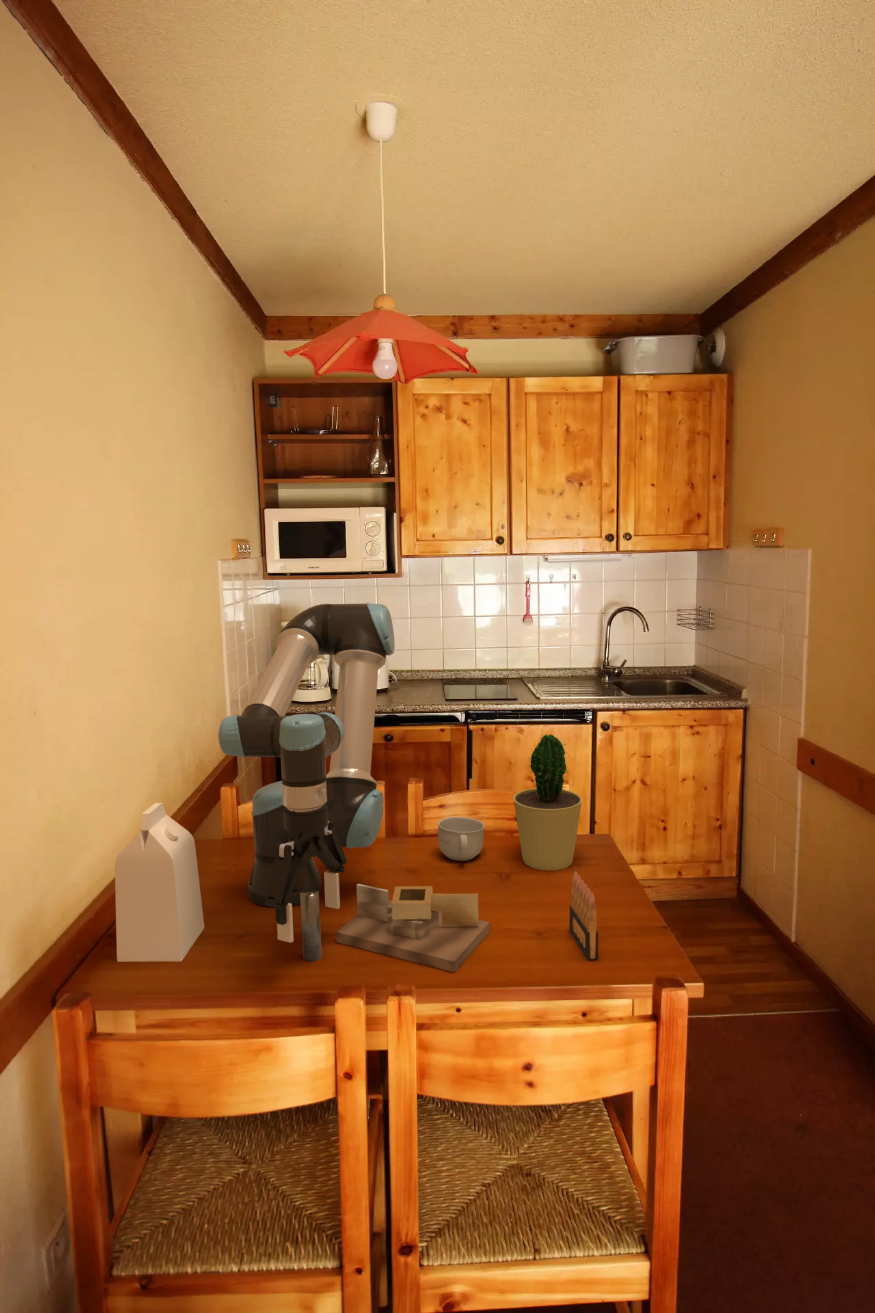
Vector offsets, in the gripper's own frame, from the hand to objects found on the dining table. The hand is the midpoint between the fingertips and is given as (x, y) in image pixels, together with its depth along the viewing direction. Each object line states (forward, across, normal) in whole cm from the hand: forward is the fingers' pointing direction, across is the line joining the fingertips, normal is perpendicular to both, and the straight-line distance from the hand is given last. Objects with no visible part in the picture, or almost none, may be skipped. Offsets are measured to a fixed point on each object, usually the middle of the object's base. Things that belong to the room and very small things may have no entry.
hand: (310, 923), depth 132 cm
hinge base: (+6, +14, -13) cm, 20 cm away
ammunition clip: (+7, +24, -42) cm, 49 cm away
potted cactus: (+6, +58, -24) cm, 63 cm away
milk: (+7, -8, +28) cm, 30 cm away
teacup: (+6, +50, -5) cm, 51 cm away
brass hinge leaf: (+4, +16, -17) cm, 23 cm away
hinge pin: (+7, 0, 0) cm, 7 cm away
